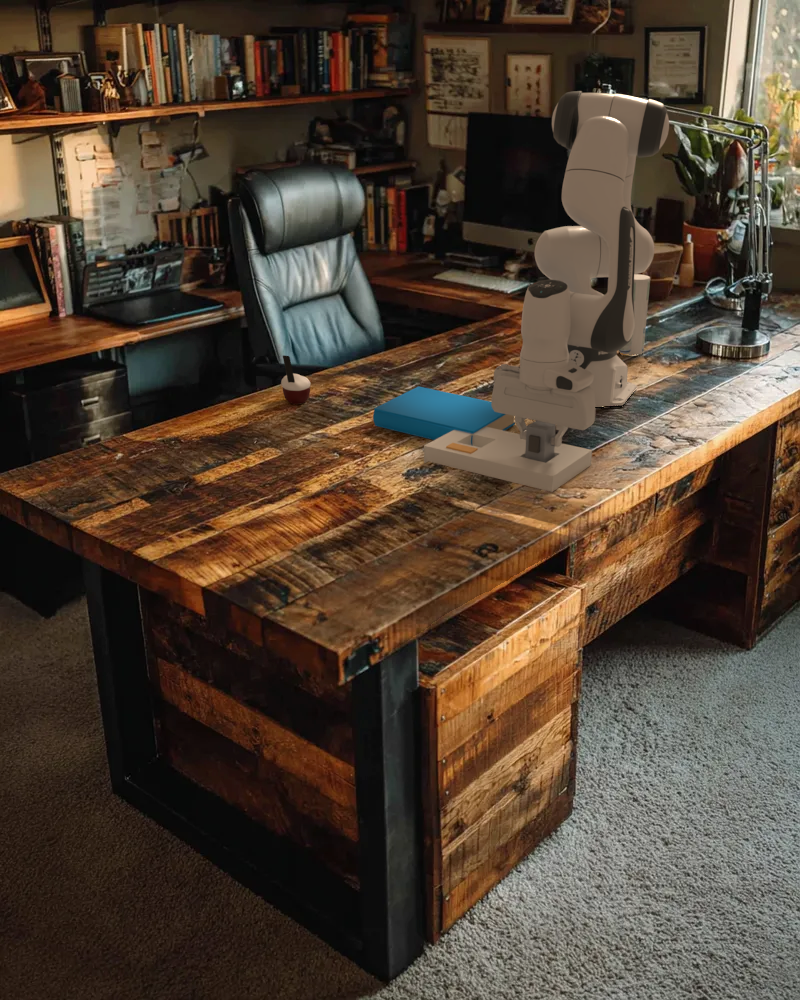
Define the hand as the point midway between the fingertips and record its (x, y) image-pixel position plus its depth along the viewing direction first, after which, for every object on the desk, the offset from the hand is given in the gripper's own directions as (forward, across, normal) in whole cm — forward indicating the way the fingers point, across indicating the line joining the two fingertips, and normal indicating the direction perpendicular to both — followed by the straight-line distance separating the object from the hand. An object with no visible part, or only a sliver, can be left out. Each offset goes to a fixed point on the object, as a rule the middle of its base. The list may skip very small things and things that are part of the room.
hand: (540, 442), depth 205 cm
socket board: (+7, -7, 0) cm, 10 cm away
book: (+6, -29, +11) cm, 31 cm away
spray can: (+7, -20, +87) cm, 90 cm away
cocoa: (+7, -67, +8) cm, 68 cm away
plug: (+6, 0, 0) cm, 6 cm away
